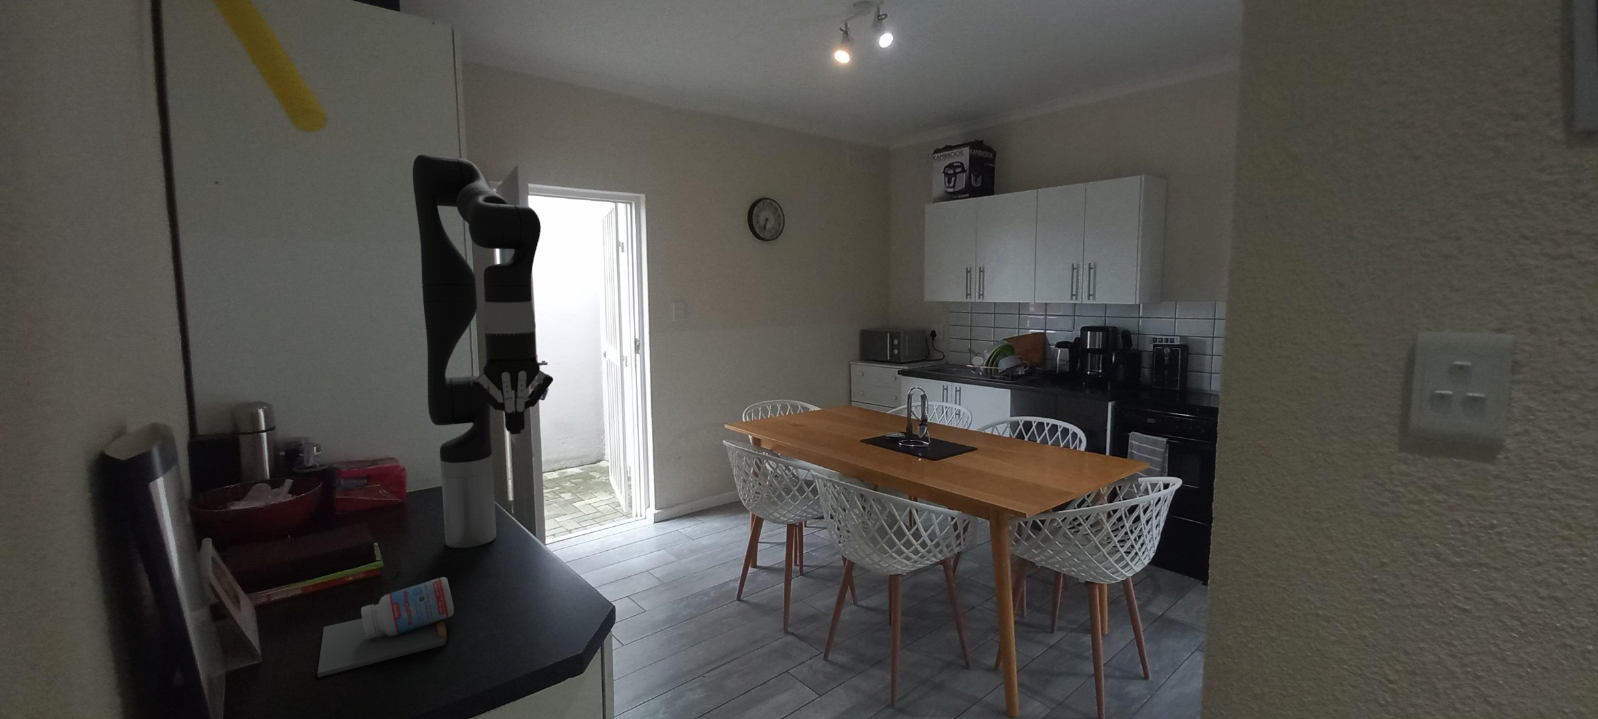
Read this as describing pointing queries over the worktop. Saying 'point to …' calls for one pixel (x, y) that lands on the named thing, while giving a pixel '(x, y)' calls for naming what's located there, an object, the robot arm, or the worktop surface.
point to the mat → (370, 645)
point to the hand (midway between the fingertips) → (515, 433)
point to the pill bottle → (408, 609)
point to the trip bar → (441, 629)
